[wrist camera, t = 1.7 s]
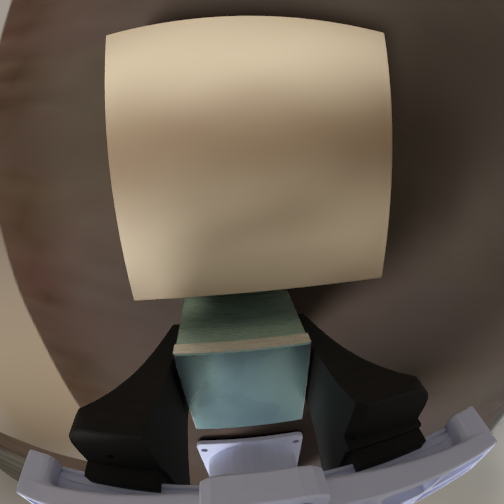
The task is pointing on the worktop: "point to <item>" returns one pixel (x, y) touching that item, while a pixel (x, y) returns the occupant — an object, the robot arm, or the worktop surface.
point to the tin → (242, 359)
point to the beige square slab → (248, 154)
